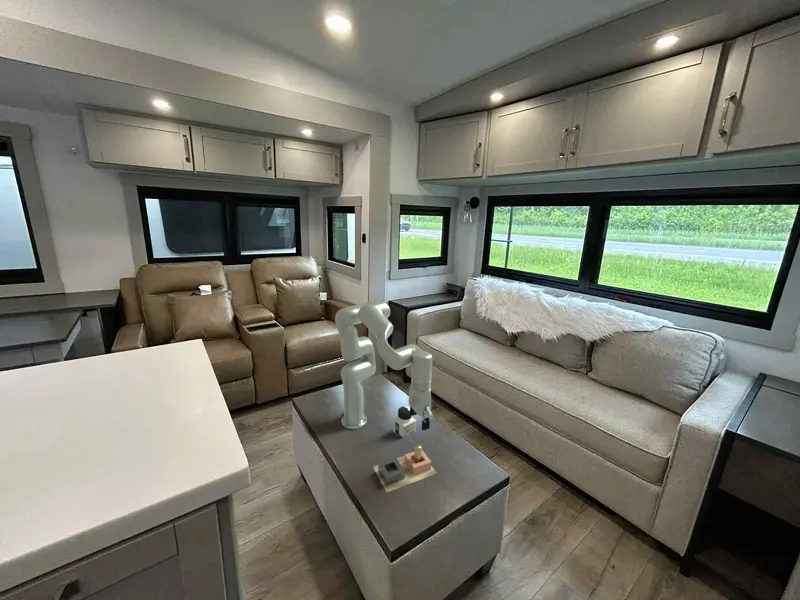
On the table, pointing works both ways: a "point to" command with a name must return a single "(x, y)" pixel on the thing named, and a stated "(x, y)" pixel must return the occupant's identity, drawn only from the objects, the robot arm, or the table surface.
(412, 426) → the container
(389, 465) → the mount collar
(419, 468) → the socket collar
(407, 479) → the oak board
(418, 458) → the brass pin
